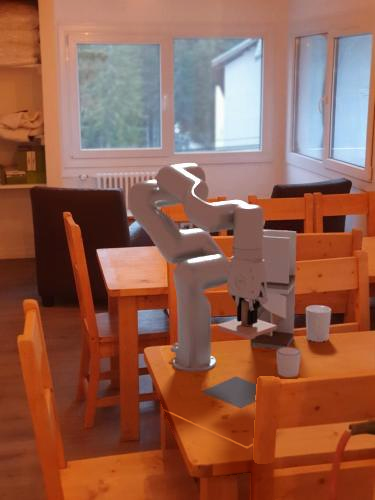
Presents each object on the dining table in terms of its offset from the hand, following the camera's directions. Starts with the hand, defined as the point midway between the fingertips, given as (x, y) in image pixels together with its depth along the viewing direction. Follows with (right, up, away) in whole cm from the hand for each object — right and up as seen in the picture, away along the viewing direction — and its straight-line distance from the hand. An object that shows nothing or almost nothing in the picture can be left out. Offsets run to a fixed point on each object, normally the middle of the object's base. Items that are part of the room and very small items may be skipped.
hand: (247, 321), depth 183 cm
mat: (-2, -19, +2) cm, 19 cm away
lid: (0, -2, 0) cm, 2 cm away
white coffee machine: (+11, -11, +39) cm, 42 cm away
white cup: (+26, -10, +42) cm, 50 cm away
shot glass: (+13, -16, +14) cm, 25 cm away
